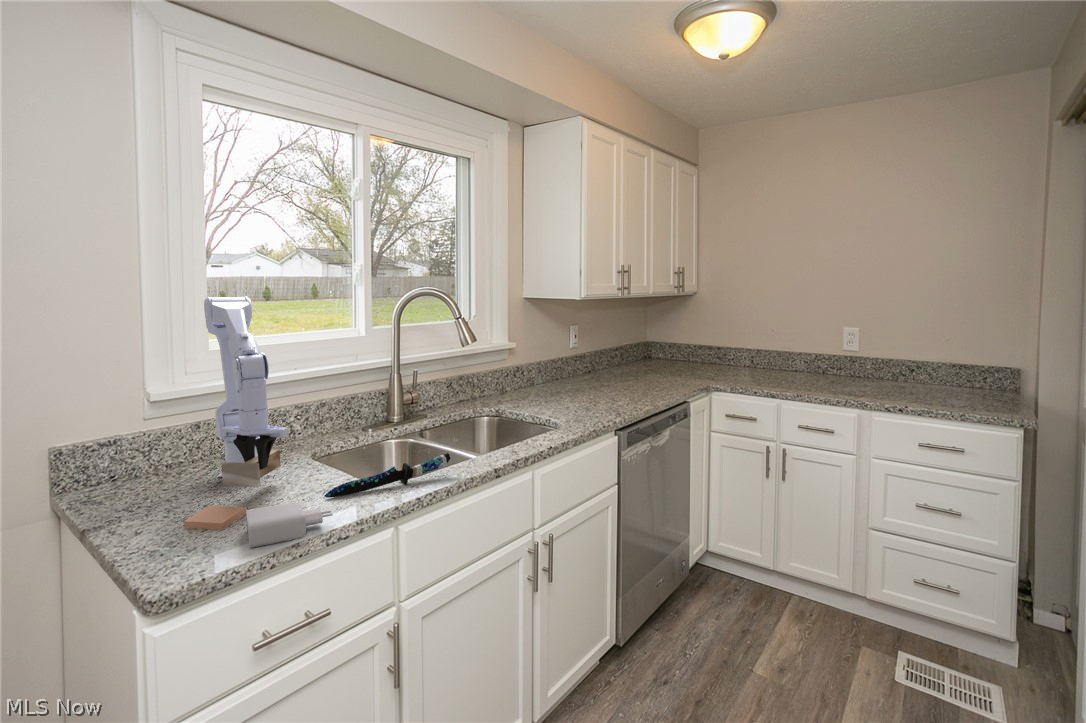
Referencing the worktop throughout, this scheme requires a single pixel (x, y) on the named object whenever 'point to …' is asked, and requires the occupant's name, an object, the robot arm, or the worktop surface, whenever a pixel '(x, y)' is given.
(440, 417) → the worktop surface
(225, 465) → the scraper
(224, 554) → the worktop surface
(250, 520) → the charger
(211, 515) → the tile
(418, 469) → the knife
